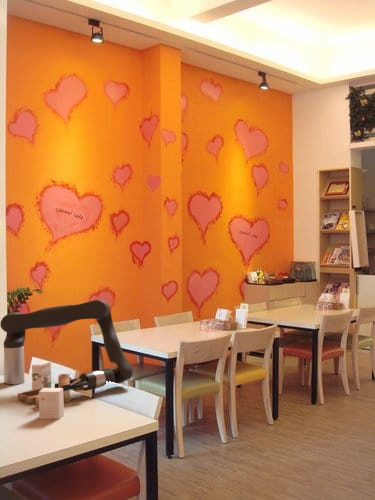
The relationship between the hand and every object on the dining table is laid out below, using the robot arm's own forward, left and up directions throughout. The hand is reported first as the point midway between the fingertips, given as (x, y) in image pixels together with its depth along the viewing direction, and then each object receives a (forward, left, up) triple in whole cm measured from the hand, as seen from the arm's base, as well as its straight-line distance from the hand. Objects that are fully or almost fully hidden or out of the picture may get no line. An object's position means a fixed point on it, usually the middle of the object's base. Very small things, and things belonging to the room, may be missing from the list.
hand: (58, 387), depth 234 cm
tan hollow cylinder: (0, +3, -6) cm, 7 cm away
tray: (-11, -4, -6) cm, 13 cm away
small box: (+15, -12, -6) cm, 20 cm away
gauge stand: (+1, -6, -6) cm, 9 cm away
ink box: (-25, +7, -6) cm, 27 cm away
